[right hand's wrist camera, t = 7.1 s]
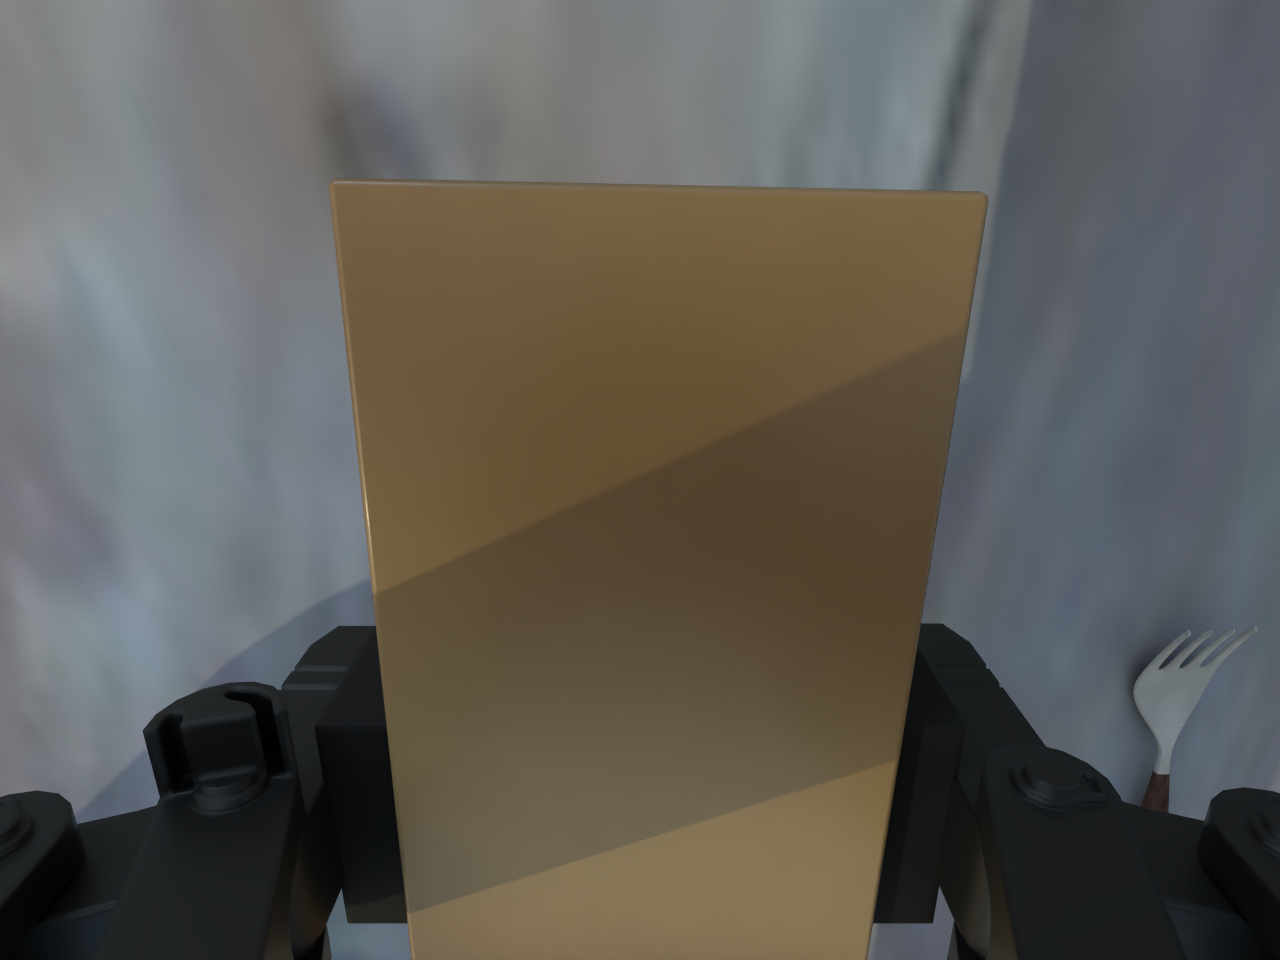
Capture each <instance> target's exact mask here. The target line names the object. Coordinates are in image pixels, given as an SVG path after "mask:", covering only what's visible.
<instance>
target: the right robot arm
mask: <svg viewBox="0 0 1280 960" xmlns="http://www.w3.org/2000/svg"><path fill="white" fill-rule="evenodd" d="M143 734H144V738H145V741H146V745H147V749H148V753H149V757H150V761H151V764H152V768H153V772H154V776H155V780H156V784H157V787H158V791H159V795H160V799H159V801H158V804H157V806H153V807H150V808H146V809H143V810H139V811H135V812H131V813H126V814H122V815H117V816H112V817H108V818H103V819H99V820H94V821H90V822H85V823H81V824H77V822H76V819H75V816H74V813H73V809H72V806H71V803H70V802H68V801H67V800H66V799H65V798H63V797H62V796H61V795H60V794H57V793H50V792H43V791H31V792H24V793H17V794H10V795H6V796H3V797H0V960H331V949H330V942H329V936H328V930H327V925H326V923H327V921H328V918H329V916H330V914H331V911H332V909H333V907H334V904H335V902H336V900H337V897H338V895H339V893H340V890H341V888H342V892H343V898H344V904H345V910H346V916H347V922H348V923H408V922H407V913H406V903H405V894H404V884H403V875H402V866H401V856H400V847H399V838H398V828H397V819H396V810H395V800H394V791H393V781H392V772H391V763H390V753H389V744H388V735H387V725H386V716H385V707H384V697H383V688H382V678H381V669H380V660H379V650H378V641H377V632H376V626H338V627H337V628H335V629H334V630H332V631H331V632H329V633H328V634H326V635H325V636H323V637H322V638H320V639H319V640H318V641H316V642H315V643H313V644H312V645H311V646H310V647H309V648H308V650H307V651H306V653H305V654H304V655H303V657H302V658H301V659H300V661H299V662H298V664H297V665H296V666H295V671H292V672H291V673H290V675H289V676H288V677H287V679H286V680H285V682H284V683H283V684H282V689H281V690H277V689H276V688H275V687H273V686H270V685H265V684H261V683H257V682H237V683H227V684H222V685H218V686H214V687H210V688H205V689H202V690H199V691H197V692H195V693H192V694H190V695H188V696H185V697H183V698H181V699H178V700H176V701H175V702H173V703H172V704H171V705H169V706H168V707H166V708H165V709H163V710H162V711H160V712H159V713H157V714H156V715H155V716H154V717H153V719H152V720H151V721H150V722H149V724H148V725H147V726H146V727H145V728H144V730H143ZM939 885H940V888H941V890H942V892H943V895H944V897H945V899H946V902H947V904H948V906H949V909H950V911H951V913H952V916H953V918H954V925H953V930H952V936H951V941H950V946H949V952H948V957H947V960H1280V793H1277V792H1274V791H1267V790H1260V789H1253V788H1246V787H1244V788H1237V789H1229V790H1223V791H1222V792H1220V793H1219V794H1218V795H1217V796H1215V797H1214V798H1213V799H1212V800H1211V802H1210V805H1209V808H1208V811H1207V815H1206V818H1205V821H1201V820H1197V819H1192V818H1188V817H1183V816H1179V815H1174V814H1170V813H1165V812H1160V811H1156V810H1151V809H1147V808H1142V807H1139V806H1136V805H1132V804H1129V803H1125V802H1122V800H1121V798H1120V796H1119V794H1118V793H1117V791H1116V790H1115V789H1114V787H1113V786H1112V784H1111V783H1110V781H1109V780H1108V779H1107V778H1106V777H1105V776H1103V775H1102V774H1101V773H1099V772H1098V771H1097V770H1096V769H1094V768H1093V767H1092V766H1091V765H1089V764H1088V763H1086V762H1084V761H1082V760H1080V759H1078V758H1076V757H1074V756H1072V755H1070V754H1068V753H1065V752H1063V751H1060V750H1056V749H1052V748H1049V747H1046V746H1045V745H1044V743H1043V742H1042V741H1041V739H1040V738H1039V736H1038V735H1037V734H1036V732H1035V731H1034V730H1033V728H1032V727H1031V725H1030V724H1029V723H1028V721H1027V720H1026V719H1025V717H1024V716H1023V715H1022V713H1021V712H1020V710H1019V709H1018V708H1017V706H1016V705H1015V704H1014V702H1013V701H1012V699H1011V698H1010V697H1009V695H1008V694H1007V693H1006V691H1005V690H1004V689H1003V687H1000V686H999V682H998V680H997V679H996V678H995V676H994V675H993V673H992V672H991V671H990V669H986V664H985V662H984V661H983V660H982V658H981V657H980V656H979V654H978V653H977V652H976V650H975V649H974V647H973V646H972V645H971V643H970V642H968V641H967V640H966V639H964V638H963V637H961V636H960V635H958V634H957V633H955V632H954V631H952V630H951V629H949V628H948V627H946V626H945V625H943V624H921V626H920V632H919V638H918V645H917V651H916V657H915V663H914V670H913V676H912V682H911V688H910V695H909V701H908V707H907V713H906V720H905V726H904V732H903V738H902V745H901V751H900V757H899V763H898V770H897V776H896V782H895V788H894V795H893V801H892V807H891V813H890V820H889V826H888V832H887V838H886V845H885V851H884V857H883V863H882V870H881V876H880V882H879V888H878V895H877V901H876V907H875V913H874V920H873V923H933V919H934V913H935V907H936V901H937V895H938V889H939Z"/></svg>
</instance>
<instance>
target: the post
mask: <svg viewBox="0 0 1280 960" xmlns="http://www.w3.org/2000/svg"><path fill="white" fill-rule="evenodd" d="M329 192H330V201H331V210H332V220H333V229H334V238H335V248H336V257H337V266H338V276H339V285H340V295H341V304H342V313H343V323H344V332H345V341H346V351H347V360H348V369H349V379H350V388H351V398H352V407H353V416H354V426H355V435H356V444H357V454H358V463H359V472H360V482H361V491H362V501H363V510H364V519H365V529H366V538H367V547H368V557H369V566H370V575H371V585H372V594H373V604H374V613H375V622H376V632H377V641H378V650H379V660H380V669H381V678H382V688H383V697H384V707H385V716H386V725H387V735H388V744H389V753H390V763H391V772H392V781H393V791H394V800H395V810H396V819H397V828H398V838H399V847H400V856H401V866H402V875H403V884H404V894H405V903H406V913H407V922H408V931H409V941H410V950H411V959H412V960H867V957H868V951H869V945H870V938H871V932H872V926H873V920H874V913H875V907H876V901H877V895H878V888H879V882H880V876H881V870H882V863H883V857H884V851H885V845H886V838H887V832H888V826H889V820H890V813H891V807H892V801H893V795H894V788H895V782H896V776H897V770H898V763H899V757H900V751H901V745H902V738H903V732H904V726H905V720H906V713H907V707H908V701H909V695H910V688H911V682H912V676H913V670H914V663H915V657H916V651H917V645H918V638H919V632H920V626H921V620H922V613H923V607H924V601H925V595H926V588H927V582H928V576H929V570H930V563H931V557H932V551H933V545H934V538H935V532H936V526H937V520H938V513H939V507H940V501H941V495H942V488H943V482H944V476H945V470H946V463H947V457H948V451H949V445H950V438H951V432H952V426H953V420H954V413H955V407H956V401H957V395H958V388H959V382H960V376H961V370H962V363H963V357H964V351H965V345H966V338H967V332H968V326H969V320H970V313H971V307H972V301H973V295H974V288H975V282H976V276H977V270H978V263H979V257H980V251H981V245H982V238H983V232H984V226H985V220H986V213H987V207H988V196H987V195H986V194H984V193H982V192H975V191H928V190H881V189H834V188H787V187H740V186H693V185H645V184H598V183H551V182H504V181H457V180H410V179H362V178H337V179H334V180H332V181H331V183H330V187H329Z"/></svg>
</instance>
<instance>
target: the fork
mask: <svg viewBox="0 0 1280 960" xmlns="http://www.w3.org/2000/svg"><path fill="white" fill-rule="evenodd" d="M1257 631H1258V628H1257V627H1256V626H1253V627H1251V628H1250V629H1248V630H1247V631H1245V632H1244V633H1243V634H1241V635H1240V636H1239V637H1237V638H1236V639H1235V640H1234V641H1232V642H1231V643H1230V644H1229V645H1227V646H1226V647H1225V648H1224V649H1223V650H1222V651H1220V652H1219V653H1218V654H1217V655H1216V656H1215V657H1214V658H1213V659H1212V660H1211V661H1209V662H1208V663H1207V664H1206V665H1204V666H1202V667H1200V665H1201V664H1202V662H1203V661H1204V660H1205V659H1206V658H1207V657H1208V656H1209V655H1210V654H1211V653H1212V652H1213V651H1214V650H1215V649H1216V648H1217V647H1218V646H1219V645H1220V644H1221V643H1222V642H1223V641H1225V640H1226V639H1227V638H1228V637H1229V636H1231V635H1232V634H1234V633H1235V629H1234V628H1233V627H1231V628H1230V629H1228V630H1227V631H1225V632H1224V633H1223V634H1221V635H1220V636H1219V637H1217V638H1216V639H1215V640H1214V641H1213V642H1211V643H1210V644H1209V645H1208V646H1207V647H1205V648H1204V649H1203V650H1202V651H1201V652H1200V653H1199V654H1198V655H1196V656H1195V657H1194V658H1193V659H1192V660H1191V661H1190V662H1189V663H1188V664H1187V665H1185V666H1184V667H1182V668H1179V667H1180V665H1181V664H1182V662H1183V661H1184V660H1185V659H1186V658H1187V657H1188V656H1189V655H1190V654H1191V653H1192V652H1193V651H1194V650H1195V649H1196V648H1197V647H1198V646H1199V645H1200V644H1201V643H1202V642H1203V641H1204V640H1205V639H1207V638H1208V637H1209V636H1210V635H1212V634H1213V631H1212V629H1208V630H1206V631H1205V632H1204V633H1202V634H1201V635H1200V636H1199V637H1197V638H1196V639H1195V640H1194V641H1193V642H1191V643H1190V644H1189V645H1188V646H1187V647H1186V648H1184V649H1183V650H1182V651H1181V652H1180V653H1179V654H1178V655H1177V656H1176V657H1175V658H1174V659H1173V660H1172V661H1171V662H1170V663H1169V664H1167V665H1166V666H1165V667H1164V668H1162V669H1159V667H1160V665H1161V664H1162V663H1163V661H1164V660H1165V659H1166V658H1167V657H1168V656H1169V655H1170V654H1171V653H1172V652H1173V650H1174V649H1175V648H1176V647H1177V646H1178V645H1180V644H1181V643H1182V642H1183V641H1184V640H1185V639H1186V638H1187V637H1189V636H1190V635H1191V631H1189V630H1186V631H1185V632H1183V633H1182V634H1181V635H1180V636H1178V637H1177V638H1176V639H1175V640H1174V641H1173V642H1171V643H1170V644H1169V645H1168V646H1167V647H1166V648H1165V649H1164V650H1163V651H1161V652H1160V653H1159V654H1158V655H1157V656H1156V657H1155V658H1154V659H1153V660H1152V661H1151V663H1150V664H1149V665H1148V666H1147V667H1146V668H1145V669H1144V671H1143V672H1142V673H1141V674H1140V676H1139V677H1138V679H1137V681H1136V683H1135V685H1134V690H1133V694H1134V700H1135V703H1136V706H1137V708H1138V710H1139V712H1140V713H1141V715H1142V717H1143V718H1144V720H1145V721H1146V723H1147V725H1148V726H1149V728H1150V729H1151V731H1152V733H1153V734H1154V736H1155V738H1156V741H1157V744H1158V756H1157V760H1156V764H1155V767H1154V770H1153V773H1152V776H1151V779H1150V782H1149V785H1148V787H1147V790H1146V793H1145V796H1144V799H1143V802H1142V805H1141V807H1142V808H1147V809H1151V810H1156V811H1160V812H1165V813H1168V804H1169V776H1170V761H1171V755H1172V750H1173V747H1174V744H1175V742H1176V740H1177V738H1178V736H1179V734H1180V732H1181V730H1182V728H1183V726H1184V725H1185V723H1186V721H1187V720H1188V718H1189V716H1190V715H1191V713H1192V711H1193V710H1194V708H1195V706H1196V705H1197V703H1198V701H1199V699H1200V698H1201V696H1202V694H1203V693H1204V691H1205V689H1206V687H1207V685H1208V684H1209V682H1210V680H1211V678H1212V676H1213V675H1214V673H1215V671H1216V670H1217V668H1218V667H1219V665H1220V664H1221V663H1222V662H1223V661H1224V660H1225V658H1226V657H1227V656H1228V655H1229V654H1230V653H1232V652H1233V651H1234V650H1235V649H1236V648H1237V647H1238V646H1239V645H1240V644H1241V643H1243V642H1244V641H1245V640H1246V639H1247V638H1249V637H1250V636H1251V635H1252V634H1254V633H1255V632H1257Z"/></svg>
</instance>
